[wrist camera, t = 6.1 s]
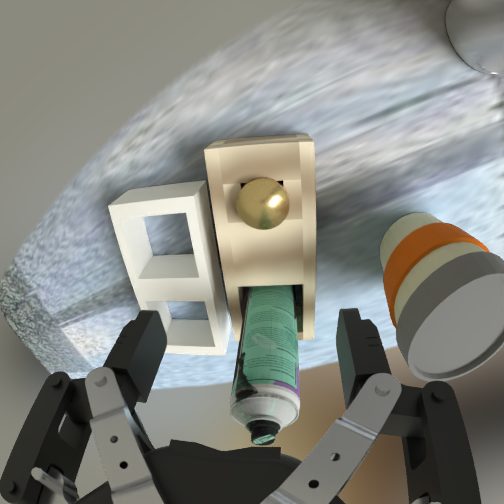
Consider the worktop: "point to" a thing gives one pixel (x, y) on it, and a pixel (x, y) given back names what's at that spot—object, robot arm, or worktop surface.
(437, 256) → the reusable coffee cup
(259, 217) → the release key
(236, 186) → the socket block
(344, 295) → the worktop surface
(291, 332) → the spray can
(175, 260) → the frame
